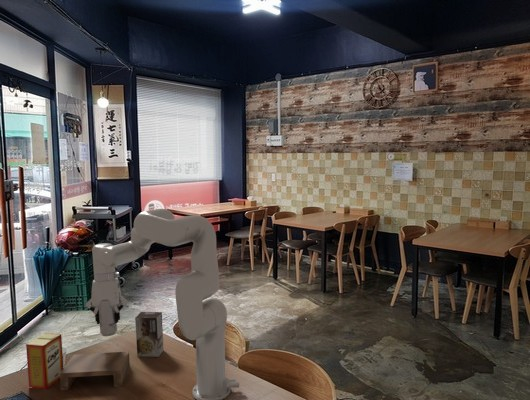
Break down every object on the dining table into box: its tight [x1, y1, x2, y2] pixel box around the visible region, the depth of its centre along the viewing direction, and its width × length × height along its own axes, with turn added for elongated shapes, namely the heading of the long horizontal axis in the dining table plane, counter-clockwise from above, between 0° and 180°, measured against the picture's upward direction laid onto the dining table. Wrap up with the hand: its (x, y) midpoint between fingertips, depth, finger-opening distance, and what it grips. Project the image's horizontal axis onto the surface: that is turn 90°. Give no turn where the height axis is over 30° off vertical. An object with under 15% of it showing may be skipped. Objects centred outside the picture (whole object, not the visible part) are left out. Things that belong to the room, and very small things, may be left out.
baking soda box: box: [25, 332, 64, 390], centre depth 152 cm, size 10×6×16 cm
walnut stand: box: [59, 351, 131, 391], centre depth 154 cm, size 20×14×6 cm
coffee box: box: [134, 311, 164, 358], centre depth 173 cm, size 9×6×16 cm
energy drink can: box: [99, 299, 118, 337], centre depth 165 cm, size 6×6×15 cm
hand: (108, 322), depth 165 cm, fingers closed on energy drink can, 6 cm apart
